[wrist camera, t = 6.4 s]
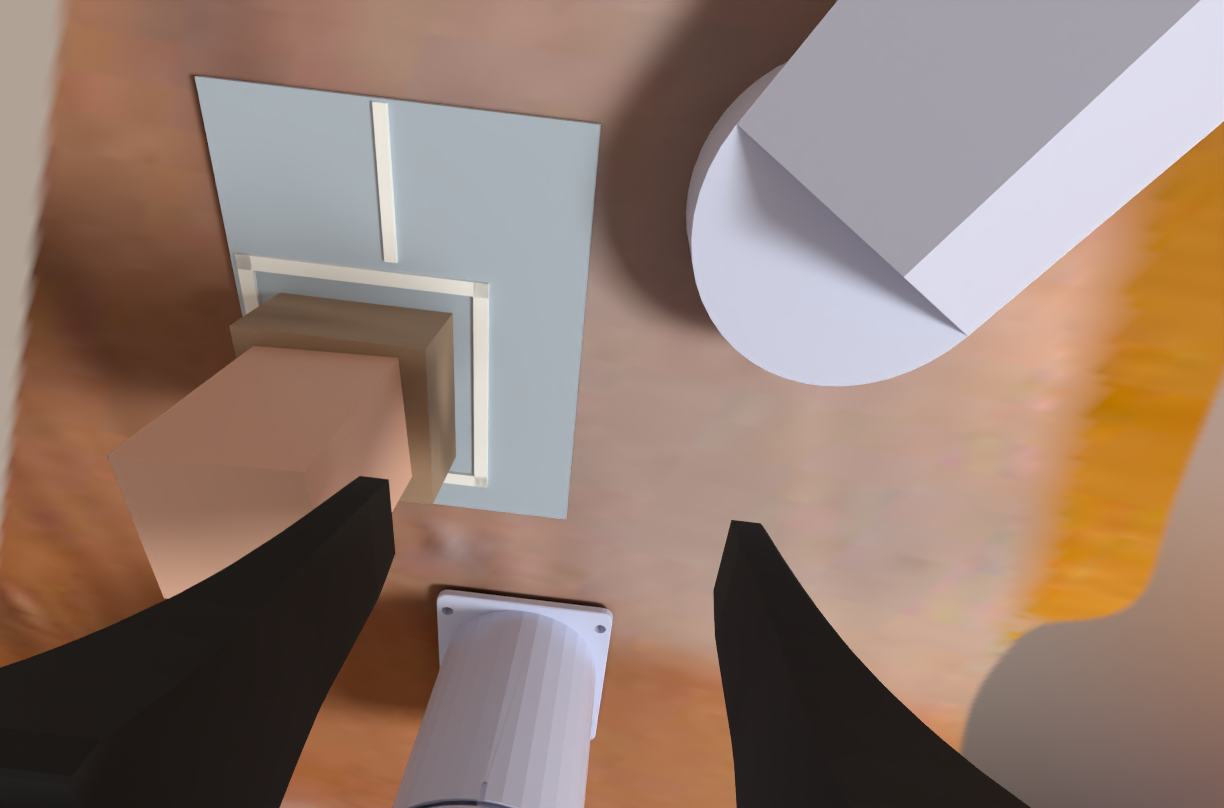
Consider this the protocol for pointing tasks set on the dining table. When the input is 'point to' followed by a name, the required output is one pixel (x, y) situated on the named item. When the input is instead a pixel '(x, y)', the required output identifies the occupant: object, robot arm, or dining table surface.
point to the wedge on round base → (935, 169)
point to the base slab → (376, 332)
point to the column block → (258, 455)
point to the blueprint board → (428, 251)
